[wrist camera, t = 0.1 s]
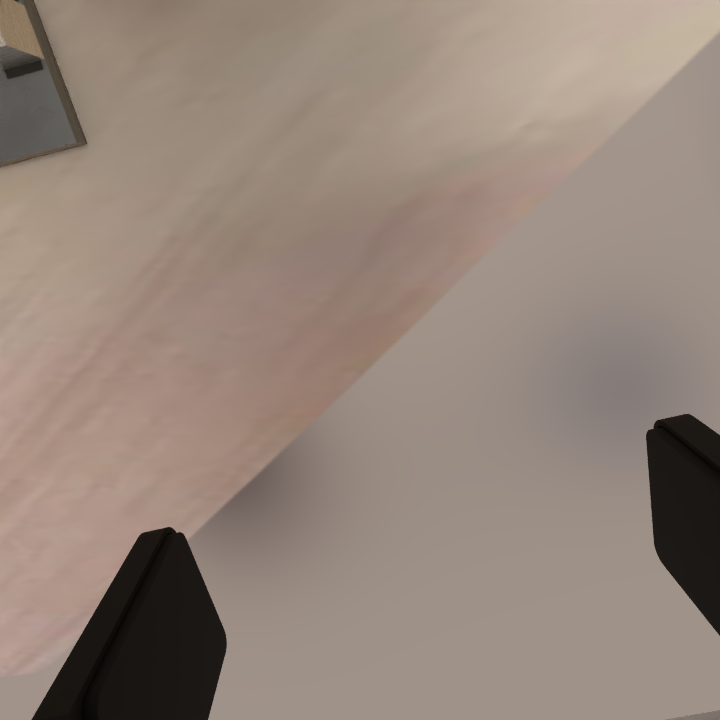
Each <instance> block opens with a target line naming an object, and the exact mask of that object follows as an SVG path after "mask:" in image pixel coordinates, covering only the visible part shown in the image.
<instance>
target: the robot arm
mask: <svg viewBox="0 0 720 720" xmlns="http://www.w3.org/2000/svg"><path fill="white" fill-rule="evenodd" d="M646 440H647V455H648V468H649V481H650V494H651V508H652V522H653V535H654V545H655V549H656V552H657V554H658V556H659V559H660V560H661V562H662V563H663V565H664V566H665V567H666V569H667V570H668V571H669V572H670V574H671V575H672V576H673V577H674V579H675V580H676V581H677V582H678V584H679V585H680V586H681V587H682V589H683V590H684V591H685V593H686V594H687V595H688V596H689V598H690V599H691V600H692V601H693V603H694V604H695V605H696V606H697V608H698V609H699V610H700V611H701V613H702V614H703V615H704V616H705V618H706V619H707V620H708V622H709V623H710V624H711V625H712V626H713V628H714V629H715V630H716V631H717V633H718V634H719V635H720V435H719V434H717V433H716V432H715V431H713V430H712V429H710V428H709V427H708V426H706V425H705V424H703V423H702V422H701V421H699V420H698V419H696V418H695V417H693V416H692V415H690V414H684V415H679V416H675V417H671V418H666V419H661V420H657V421H656V422H655V424H654V429H651V430H648V432H647V434H646ZM226 645H227V642H226V634H225V631H224V628H223V626H222V623H221V621H220V619H219V616H218V614H217V611H216V609H215V607H214V604H213V602H212V599H211V597H210V595H209V592H208V590H207V587H206V585H205V583H204V580H203V578H202V576H201V573H200V571H199V569H198V566H197V564H196V561H195V559H194V556H193V554H192V552H191V549H190V547H189V545H188V542H187V540H186V538H185V536H184V534H183V533H181V532H178V533H176V531H175V530H174V529H173V528H171V527H167V528H162V529H158V530H153V531H149V532H144V533H142V534H141V535H140V536H139V537H138V539H137V540H136V542H135V544H134V546H133V547H132V549H131V551H130V552H129V554H128V556H127V557H126V559H125V561H124V563H123V564H122V566H121V568H120V569H119V571H118V573H117V575H116V576H115V578H114V580H113V581H112V583H111V585H110V587H109V588H108V590H107V592H106V593H105V595H104V597H103V599H102V600H101V602H100V604H99V605H98V607H97V609H96V610H95V612H94V614H93V616H92V617H91V619H90V621H89V622H88V624H87V626H86V628H85V629H84V631H83V633H82V634H81V636H80V638H79V640H78V641H77V643H76V645H75V646H74V648H73V650H72V652H71V653H70V655H69V657H68V658H67V660H66V662H65V663H64V665H63V667H62V669H61V670H60V672H59V674H58V675H57V677H56V679H55V681H54V682H53V684H52V686H51V687H50V689H49V691H48V692H47V694H46V696H45V698H44V699H43V701H42V703H41V705H40V706H39V708H38V710H37V711H36V713H35V715H34V717H33V718H32V720H208V718H209V714H210V710H211V706H212V702H213V698H214V694H215V691H216V687H217V683H218V679H219V676H220V672H221V668H222V664H223V660H224V657H225V653H226ZM668 720H720V710H719V711H712V712H707V713H701V714H695V715H690V716H684V717H679V718H673V719H668Z"/></svg>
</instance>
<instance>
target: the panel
mask: <svg viewBox="0 0 720 720" xmlns="http://www.w3.org/2000/svg"><path fill="white" fill-rule="evenodd" d="M84 144H87V142H86V139H85V137H84V134H83V132H82V129H81V126H80V124H79V121H78V118H77V116H76V113H75V110H74V108H73V105H72V102H71V100H70V97H69V94H68V92H67V89H66V86H65V84H64V81H63V78H62V76H61V73H60V70H59V68H58V65H57V62H56V60H55V57H54V54H53V52H52V49H51V46H50V44H49V41H48V38H47V36H46V33H45V31H44V28H43V25H42V23H41V20H40V17H39V15H38V12H37V9H36V7H35V4H34V1H33V0H0V167H1V166H4V165H8V164H12V163H16V162H20V161H23V160H27V159H31V158H35V157H39V156H42V155H46V154H50V153H54V152H58V151H61V150H65V149H69V148H73V147H77V146H80V145H84Z"/></svg>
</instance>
